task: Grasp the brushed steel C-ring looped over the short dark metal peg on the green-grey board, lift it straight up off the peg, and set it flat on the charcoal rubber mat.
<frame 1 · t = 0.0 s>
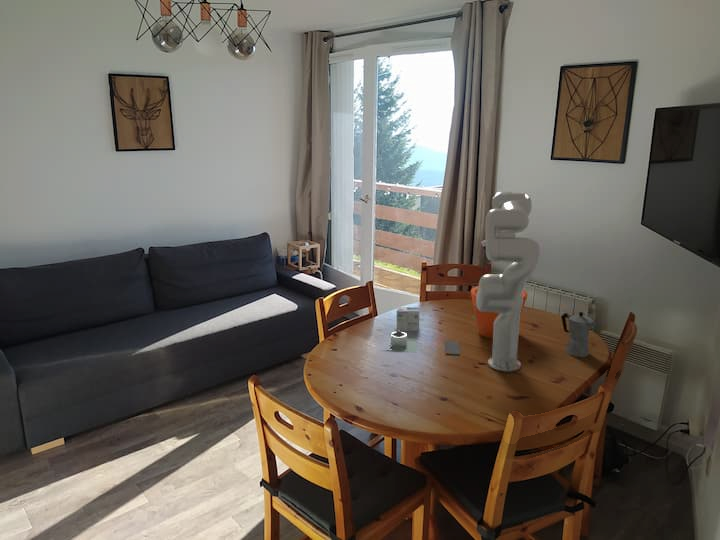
hand: (501, 261, 219), 37 cm above the table, tool pointing down, fingers open, 9 cm apart
flowerpot: (496, 333, 239), on the table
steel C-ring: (398, 344, 225), point 1 cm above the table, touching peg stand
coffeepot: (575, 352, 216), on the table
charcoal mat: (442, 347, 223), on the table
light bulb box: (407, 330, 244), on the table
peg stand: (398, 346, 226), on the table
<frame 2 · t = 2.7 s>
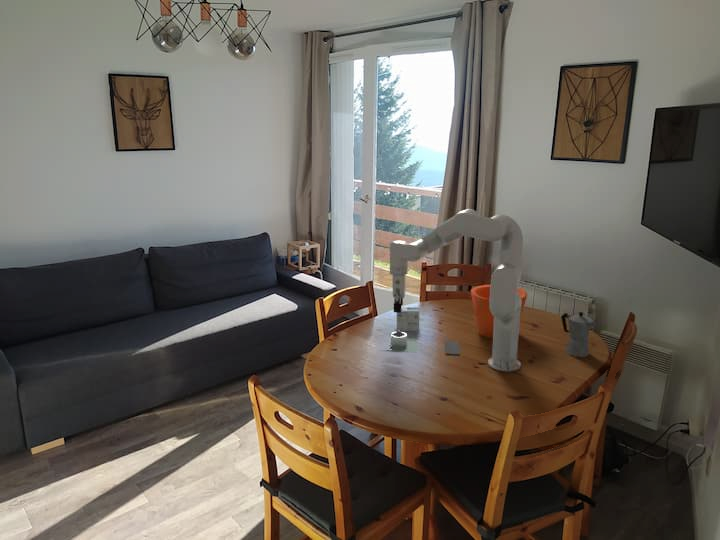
hand: (398, 308, 221), 17 cm above the table, tool pointing down, fingers open, 9 cm apart
nothing on the table moved.
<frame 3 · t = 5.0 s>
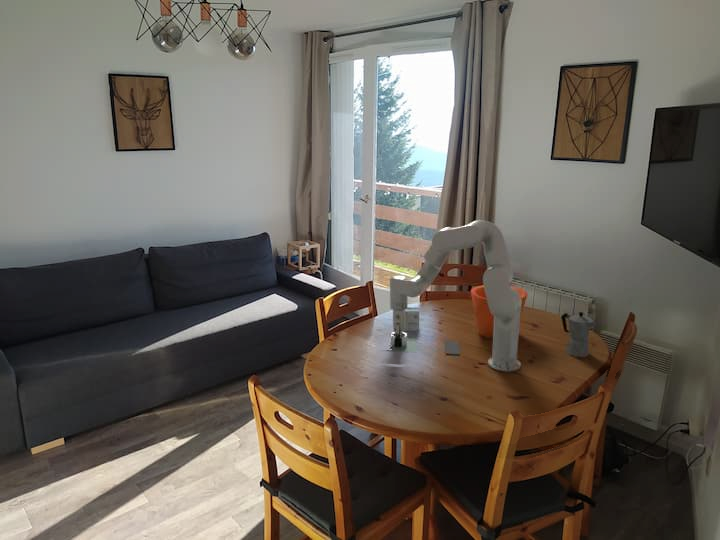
hand: (398, 342, 225), 2 cm above the table, tool pointing down, fingers closed on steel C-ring, 7 cm apart
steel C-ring: (398, 344, 225), point 1 cm above the table, touching gripper, peg stand
everything else where it was.
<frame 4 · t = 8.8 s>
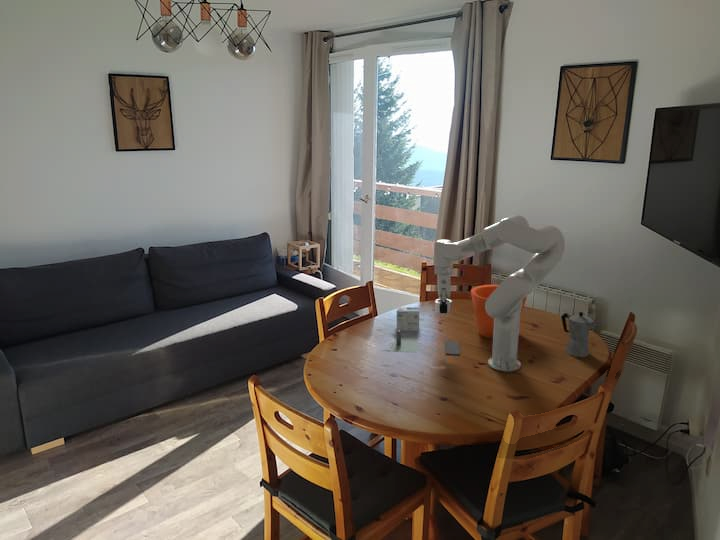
hand: (443, 309, 219), 17 cm above the table, tool pointing down, fingers closed on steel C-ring, 7 cm apart
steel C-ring: (443, 311, 219), point 17 cm above the table, touching gripper
everything else where it was.
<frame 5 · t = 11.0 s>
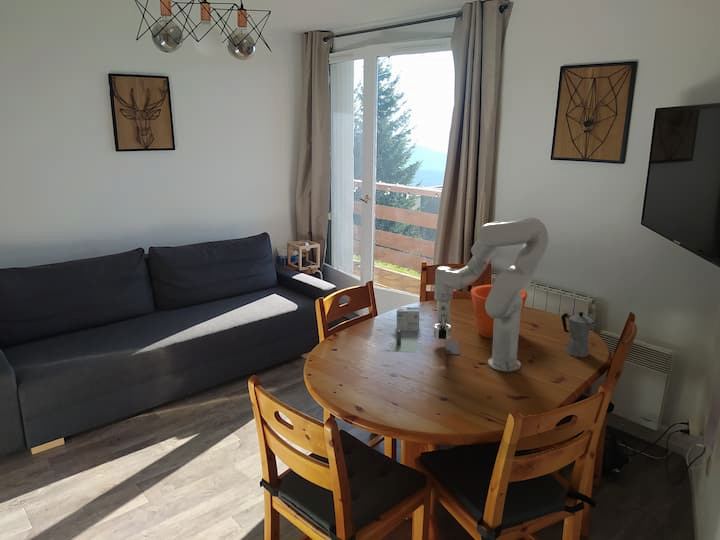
hand: (442, 334, 222), 6 cm above the table, tool pointing down, fingers closed on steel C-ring, 7 cm apart
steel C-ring: (442, 336, 222), point 5 cm above the table, touching gripper
everything else where it was.
when the fingers open (3 cm above the table, at t = 12.7 s): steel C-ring drops 1 cm, resting on charcoal mat.
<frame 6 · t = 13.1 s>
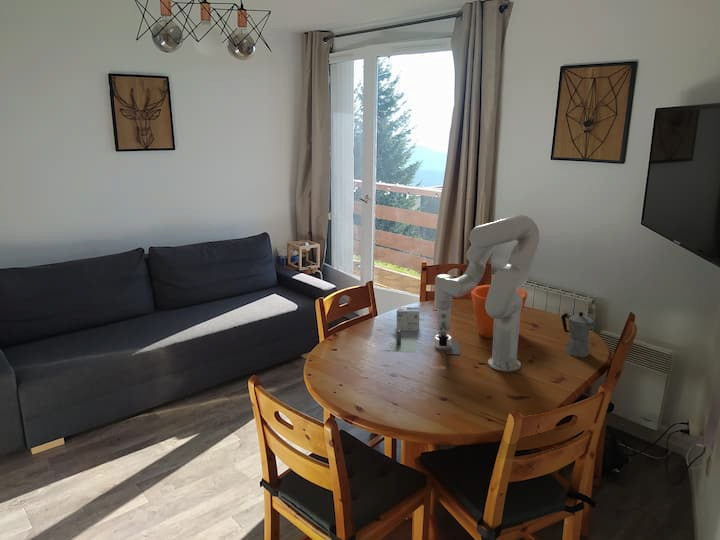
hand: (442, 341, 222), 3 cm above the table, tool pointing down, fingers open, 9 cm apart
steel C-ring: (442, 346, 223), resting on charcoal mat
everything else where it was.
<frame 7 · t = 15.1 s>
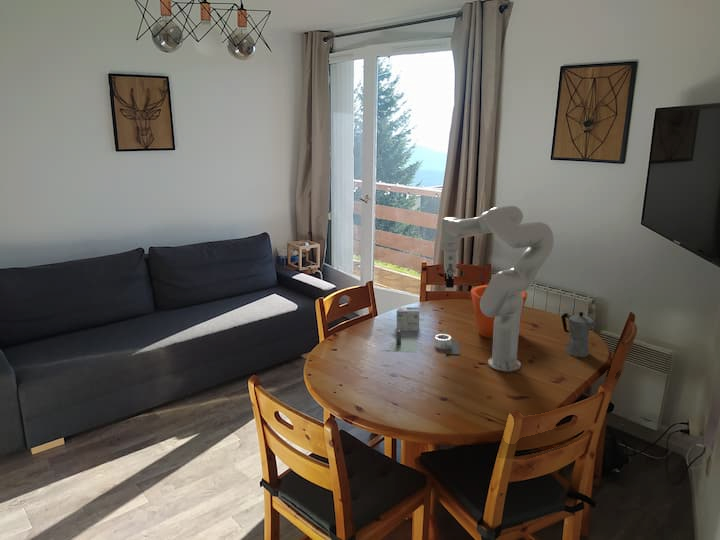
hand: (448, 284, 226), 26 cm above the table, tool pointing down, fingers open, 9 cm apart
nothing on the table moved.
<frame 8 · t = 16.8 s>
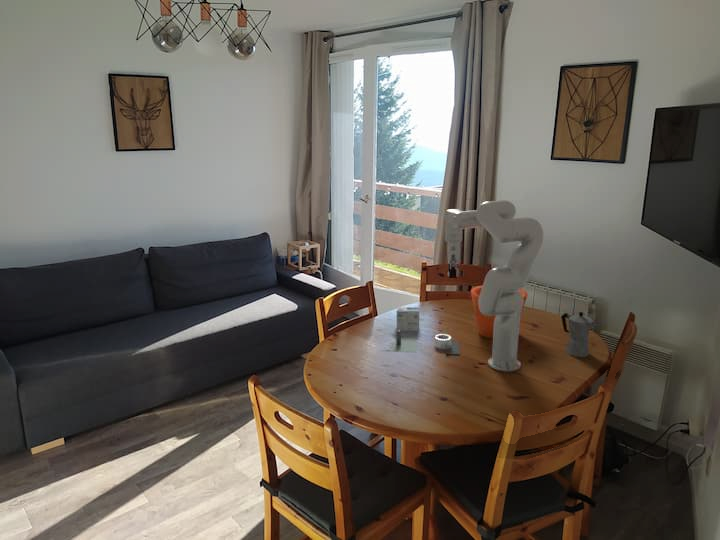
hand: (452, 274, 232), 28 cm above the table, tool pointing down, fingers open, 9 cm apart
nothing on the table moved.
at the end: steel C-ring inside the target area on the charcoal mat (0.0 cm from its centre), point 0.5 cm above the charcoal mat's base; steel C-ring tilted 0°; the gripper is holding nothing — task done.
